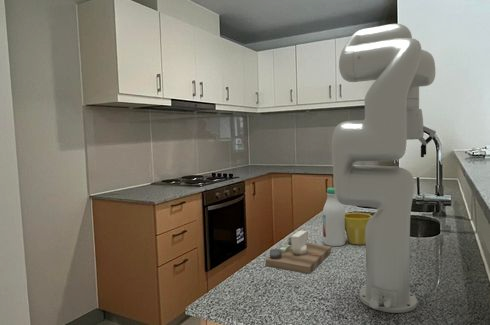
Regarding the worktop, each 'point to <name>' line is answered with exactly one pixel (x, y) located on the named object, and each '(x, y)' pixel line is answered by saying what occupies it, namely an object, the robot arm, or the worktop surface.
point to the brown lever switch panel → (298, 258)
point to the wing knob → (299, 242)
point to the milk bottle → (333, 220)
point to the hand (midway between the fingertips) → (406, 156)
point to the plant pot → (356, 227)
